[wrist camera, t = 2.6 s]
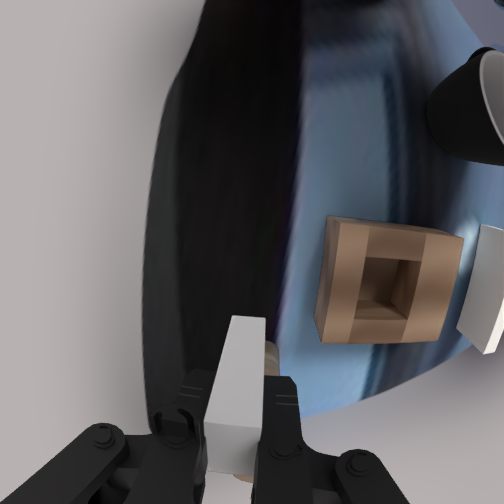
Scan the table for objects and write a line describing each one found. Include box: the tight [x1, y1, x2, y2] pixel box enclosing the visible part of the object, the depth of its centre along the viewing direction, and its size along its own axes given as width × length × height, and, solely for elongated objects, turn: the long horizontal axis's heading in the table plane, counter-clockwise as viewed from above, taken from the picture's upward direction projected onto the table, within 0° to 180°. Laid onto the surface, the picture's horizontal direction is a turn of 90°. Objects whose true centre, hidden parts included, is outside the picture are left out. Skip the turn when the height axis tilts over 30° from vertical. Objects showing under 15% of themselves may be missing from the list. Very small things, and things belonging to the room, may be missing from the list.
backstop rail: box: [456, 224, 504, 354], centre depth 20 cm, size 12×2×6 cm, turn 176°
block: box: [314, 216, 464, 344], centre depth 22 cm, size 9×11×4 cm
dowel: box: [233, 341, 280, 483], centre depth 20 cm, size 3×3×14 cm
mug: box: [427, 47, 504, 166], centre depth 14 cm, size 12×9×10 cm
